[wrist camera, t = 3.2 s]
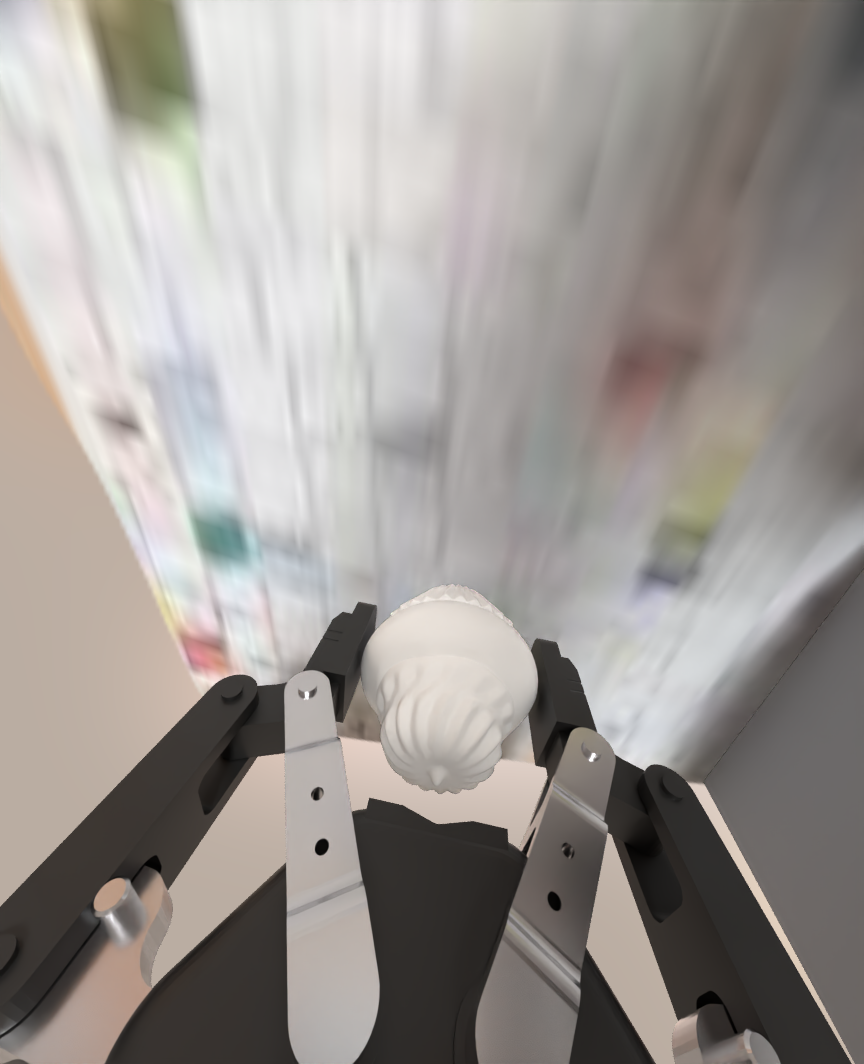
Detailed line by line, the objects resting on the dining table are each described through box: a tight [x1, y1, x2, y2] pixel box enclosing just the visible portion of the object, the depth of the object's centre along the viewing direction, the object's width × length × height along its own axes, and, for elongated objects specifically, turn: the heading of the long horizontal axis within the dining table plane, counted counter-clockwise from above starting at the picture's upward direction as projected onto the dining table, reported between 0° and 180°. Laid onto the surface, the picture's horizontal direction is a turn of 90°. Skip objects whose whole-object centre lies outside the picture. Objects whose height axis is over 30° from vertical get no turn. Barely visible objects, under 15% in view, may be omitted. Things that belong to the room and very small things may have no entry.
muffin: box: [361, 584, 538, 794], centre depth 12 cm, size 6×6×7 cm
